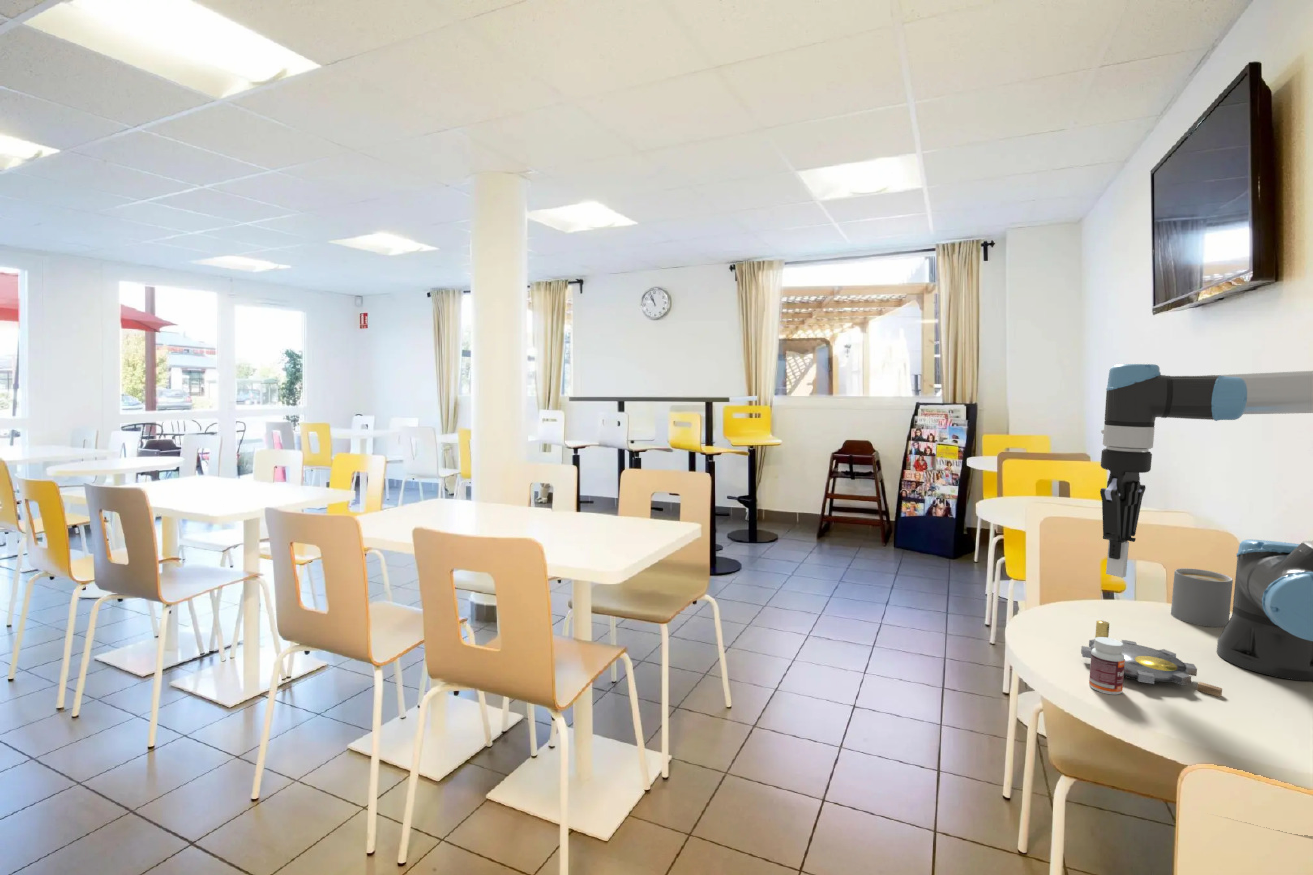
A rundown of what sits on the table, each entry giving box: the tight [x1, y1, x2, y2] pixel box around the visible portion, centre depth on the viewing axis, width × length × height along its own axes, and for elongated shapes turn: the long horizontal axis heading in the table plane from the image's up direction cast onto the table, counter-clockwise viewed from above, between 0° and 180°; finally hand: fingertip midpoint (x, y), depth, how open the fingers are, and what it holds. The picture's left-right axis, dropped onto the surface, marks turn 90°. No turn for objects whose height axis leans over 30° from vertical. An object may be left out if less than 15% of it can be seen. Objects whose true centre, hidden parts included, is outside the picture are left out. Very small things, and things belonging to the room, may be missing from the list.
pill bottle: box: [1088, 637, 1125, 696], centre depth 113 cm, size 5×5×8 cm
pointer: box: [1196, 681, 1223, 698], centre depth 112 cm, size 3×1×1 cm, turn 38°
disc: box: [1080, 620, 1198, 686], centre depth 120 cm, size 17×17×6 cm
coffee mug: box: [1170, 567, 1234, 628], centre depth 148 cm, size 13×10×10 cm
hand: (1115, 574), depth 124 cm, fingers closed
